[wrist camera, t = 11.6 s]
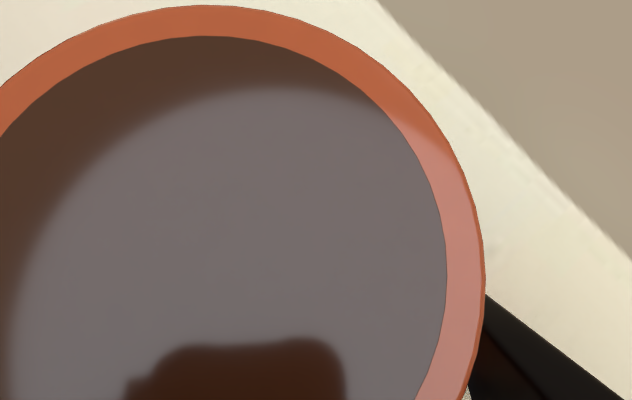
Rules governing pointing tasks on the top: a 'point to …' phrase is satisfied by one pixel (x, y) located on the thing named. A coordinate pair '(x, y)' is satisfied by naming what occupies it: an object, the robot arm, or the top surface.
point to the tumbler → (230, 220)
